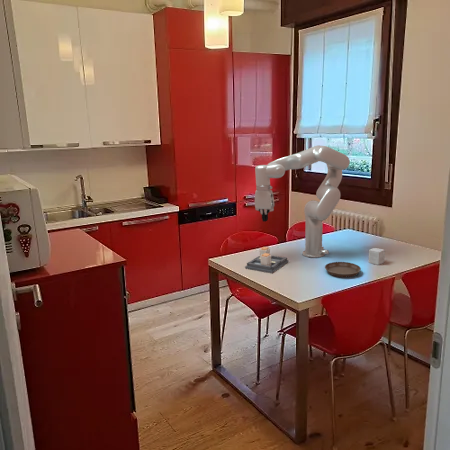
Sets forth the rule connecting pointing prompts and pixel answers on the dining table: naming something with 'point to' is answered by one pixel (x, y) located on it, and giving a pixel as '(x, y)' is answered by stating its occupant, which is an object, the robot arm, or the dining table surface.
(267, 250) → the white orange-topped block
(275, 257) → the grey compartment tray
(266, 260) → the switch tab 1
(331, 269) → the plant saucer
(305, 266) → the dining table surface
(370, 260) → the product box
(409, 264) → the dining table surface
